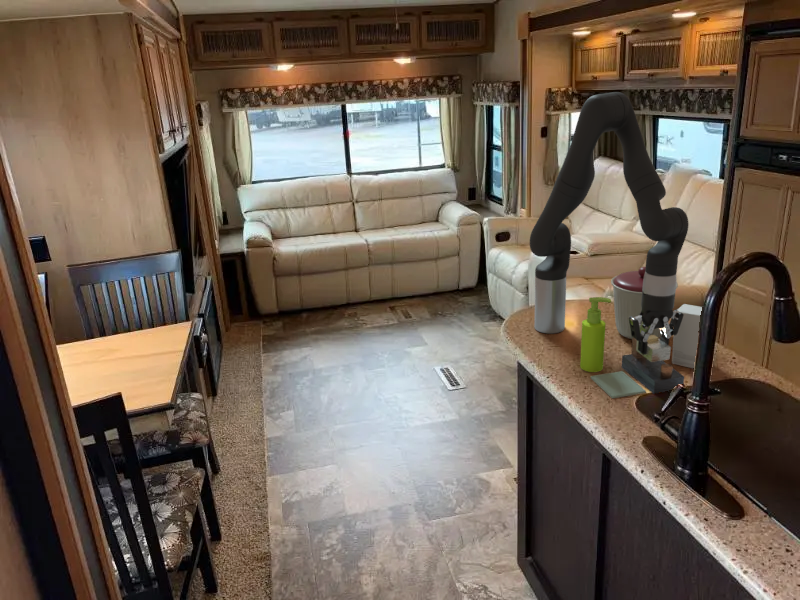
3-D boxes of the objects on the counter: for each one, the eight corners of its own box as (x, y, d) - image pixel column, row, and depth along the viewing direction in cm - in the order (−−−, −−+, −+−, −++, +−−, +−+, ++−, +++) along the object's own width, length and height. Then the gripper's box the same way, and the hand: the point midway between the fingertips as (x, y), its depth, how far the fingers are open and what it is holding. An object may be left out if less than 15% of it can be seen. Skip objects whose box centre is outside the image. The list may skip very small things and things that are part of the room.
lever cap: (635, 350, 159) (637, 335, 157) (653, 347, 160) (654, 332, 158) (651, 362, 152) (652, 346, 151) (669, 359, 153) (671, 343, 152)
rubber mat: (590, 378, 160) (590, 376, 160) (622, 373, 161) (622, 371, 161) (612, 398, 150) (612, 396, 150) (645, 392, 151) (645, 390, 151)
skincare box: (710, 362, 164) (717, 308, 158) (702, 372, 159) (708, 317, 154) (678, 354, 169) (684, 302, 164) (669, 363, 165) (674, 310, 159)
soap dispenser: (608, 372, 162) (612, 302, 155) (581, 371, 164) (584, 302, 156) (605, 362, 167) (609, 294, 160) (579, 361, 169) (582, 294, 162)
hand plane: (621, 367, 164) (623, 338, 161) (648, 362, 166) (651, 334, 163) (653, 393, 151) (656, 362, 148) (682, 388, 152) (686, 358, 149)
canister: (628, 350, 173) (633, 280, 166) (596, 326, 190) (600, 262, 183) (685, 341, 176) (693, 272, 169) (649, 319, 193) (655, 255, 186)
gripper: (676, 281, 154) (669, 342, 160) (623, 288, 152) (619, 349, 158) (695, 291, 147) (687, 354, 154) (640, 298, 145) (635, 362, 151)
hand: (652, 351), depth 156 cm, fingers closed on lever cap, 5 cm apart
